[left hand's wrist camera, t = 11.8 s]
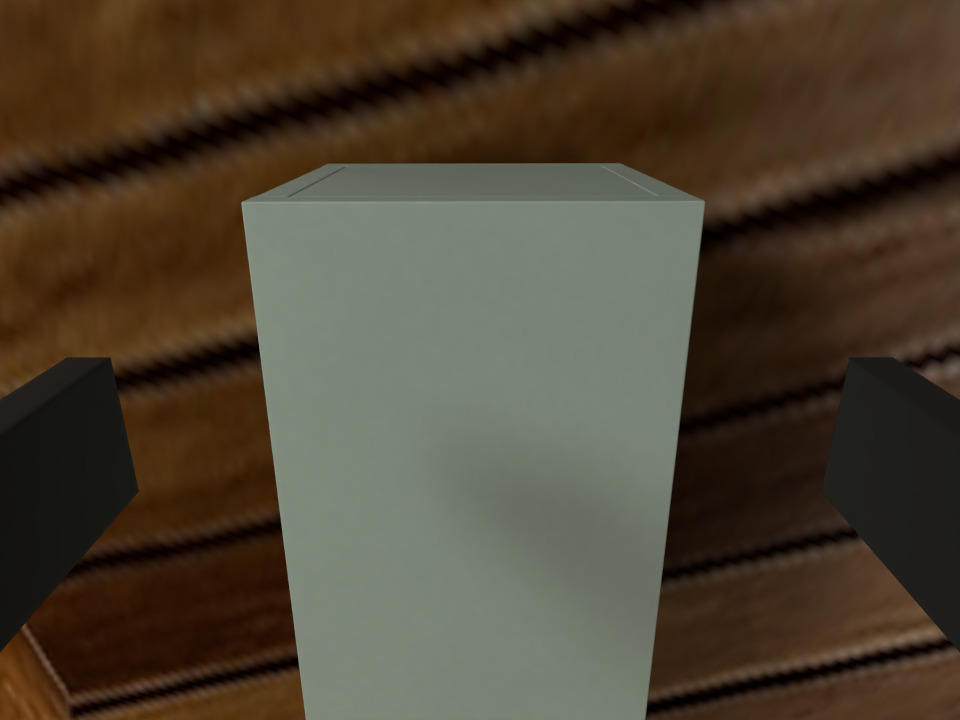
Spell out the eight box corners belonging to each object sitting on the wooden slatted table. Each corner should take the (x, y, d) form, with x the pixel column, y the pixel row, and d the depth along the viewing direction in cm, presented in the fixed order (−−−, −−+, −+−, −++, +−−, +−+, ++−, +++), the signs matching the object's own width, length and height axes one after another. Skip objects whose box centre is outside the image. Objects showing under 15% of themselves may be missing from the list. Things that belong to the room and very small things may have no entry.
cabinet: (590, 597, 34) (636, 797, 24) (361, 597, 34) (315, 799, 24) (621, 163, 26) (706, 200, 17) (327, 163, 26) (240, 201, 17)
